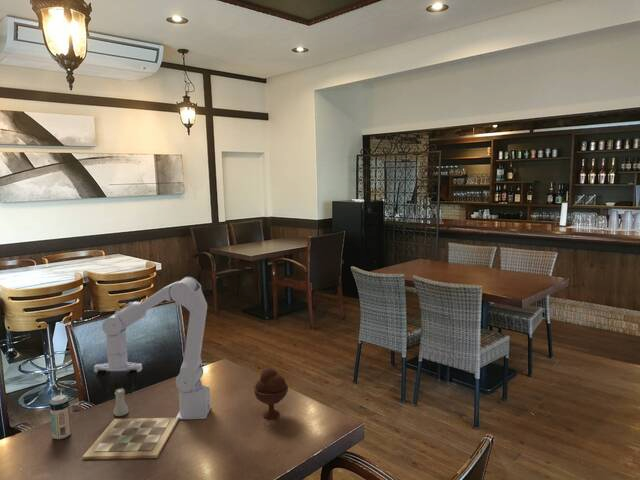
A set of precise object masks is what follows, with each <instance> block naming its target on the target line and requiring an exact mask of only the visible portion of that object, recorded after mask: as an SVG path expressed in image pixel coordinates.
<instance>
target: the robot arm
mask: <svg viewBox="0 0 640 480" xmlns="http://www.w3.org/2000/svg"><path fill="white" fill-rule="evenodd" d="M164 301H167V302H172V301H175V302H176V303H177V304H179V305H180V306H182V307H184V308H185V309H186V310H187V311H189V317H188V318H189V319H188V325H187V331H186V332H187V334H186V339H185V340H186V341H185V347H184V355H183V361H182V363H181V366H180V370H179V373H178V375H177V376H176V378H175V386H176V388H177V389H178V404H179V411H178V413H177V415H176V416H175V418H179V420H205V419H207V417H208V415H209V412H210V410H211V408H212V406H211V389H210V387H209V386H207V385H206V386H205V385H203V383H202V381H201V378H202V377H203V375H204V368H203V364H202V363H203V360H202V359H201V355H202V349H203V348H202V347H203V340H204V333H205V327H206V319H207V311H208V302H207V300H206V298H205V295H204V292H203V290H202V284H200V283H199V282H198V280H197V279H196V278H194V277H191V276H185V277H183V278H182V279H181V280H177V281H175V282H173V283H170V284H168V285H166V286H164V287H163V288H161V289H160V290H158V291H156V292H155V293H153V294H152V295H151V296H149V297H147V298H146V299H144V300H143V301H141V302H140V301H130V302H128V303H126V307H124V308H122V309H120V310H118V309H117V310H116V311H114V314H112V315H111V316H109V317H106V319H104V321H103V322H102V323H101V324H102V325H101V326H102V327H101V328H102V331H103V333H105V335H106V349H107V350H106V352H107V362H105V363H96V364H95V365H94V366H93V371H94V373H97V374H95V377H96V378H97V379H98V381H99V383H101V386H102V388H103V390H104V394H105V395H108V394H109V393H110V392H111V372H128V373H127V374H126V378H127V382H128V393H129V394H133V392H135V385H136V381H137V378H138V375H139V373H140V372H141V371H142V370H143V363H140V362H139V363H137V362H130V361H128V349H127V347H128V345H127V331H126V330H127V328H128V327H130V326H132V325H134V324H135V323H137V322H138V321H141V320H142V319H144V318H145V317H146V315H147V312H148V310H150V309H152V308H153V307H155V306H157V305H159V304H161V303H163V302H164Z"/></svg>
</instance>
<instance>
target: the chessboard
mask: <svg viewBox="0 0 640 480" xmlns="http://www.w3.org/2000/svg"><path fill="white" fill-rule="evenodd" d="M179 420H180V419H179V418H176V417H149V418H148V417H144V418H143V417H142V418H141V417H140V418H138V417H136V418H135V417H134V418H114V419H113V420H112V421H111V422H110V423H109V425H108V426H107V427H106V428H105V429H104V431H102V432H101V434H100V435H99V436H98V437H97V439H96V440H95V441H94V442H93V443H92V444H91V446H90V447H89V448H88V450H87V451H86V452H85V453H84V454H83V455H82V460H111V459H112V460H115V459H116V460H118V459H123V460H125V459H157V458H158V457H159V455H160V454H161V452H162V450H163V448H164V447H165V445H166V443H167V442H168V439H169V438H170V436H171V434H172V433H173V431H174V429H175V427H176V425H177V424H178V422H179Z"/></svg>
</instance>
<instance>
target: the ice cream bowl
mask: <svg viewBox="0 0 640 480" xmlns="http://www.w3.org/2000/svg"><path fill="white" fill-rule="evenodd" d="M253 390H254V395H255V397H256V399H257V400H258V401H259V402H261V403H262V404H265V405H268V409H267V410H265V411H264V412H263V413H262V417H265V418H267V419H266V420H272V419H273V420H275V419H274V418H276V419H278V418H279V417H280V416H281V414H280V412H279V410H276V409H275V405H276V404H278V403H280V402H281V401H282V400H283V399H284V398H285V397H286V395H287V394H288V391H289V386H288V384H287V382H286V380H285V378H284V377H283V375H281V374H278V372H277V371H276V369H274V368H272V367H269V368H265V369H263V370H262V372H261V373H260V376H259V380H257V381H256V382H255V385H253ZM279 415H280V416H279ZM278 416H279V417H278ZM277 417H278V418H277ZM265 418H264V419H265Z"/></svg>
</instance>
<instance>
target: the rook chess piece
mask: <svg viewBox="0 0 640 480" xmlns="http://www.w3.org/2000/svg"><path fill="white" fill-rule="evenodd" d="M125 394H126V390H125V388H123V387H121V388H117V389H115V391H114V395H115V406H114V408H113V415H114V416H116V417H123V416H125V415H127V414H128V413H129V412H130V411H129V406H127V403H126V401H125V397H126V396H125Z"/></svg>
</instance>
